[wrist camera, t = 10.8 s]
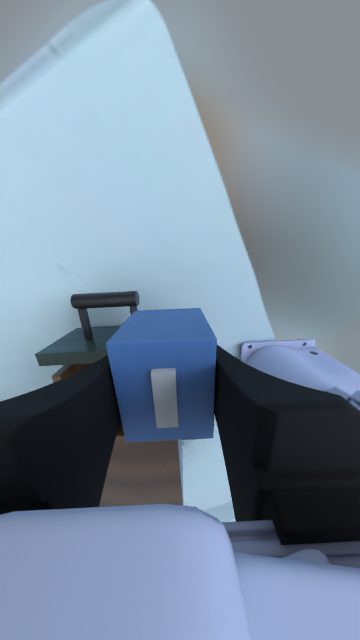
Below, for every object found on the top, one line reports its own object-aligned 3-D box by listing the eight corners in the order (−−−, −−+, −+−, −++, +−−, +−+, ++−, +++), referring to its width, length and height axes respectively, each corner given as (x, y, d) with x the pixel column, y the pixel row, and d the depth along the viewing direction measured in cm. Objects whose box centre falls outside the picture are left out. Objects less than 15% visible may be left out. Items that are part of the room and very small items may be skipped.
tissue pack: (200, 307, 11) (218, 341, 6) (200, 376, 13) (214, 445, 8) (134, 310, 11) (101, 346, 6) (143, 379, 13) (123, 449, 8)
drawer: (67, 290, 19) (15, 302, 13) (166, 285, 19) (160, 295, 13) (97, 408, 24) (71, 454, 18) (175, 404, 24) (173, 449, 18)
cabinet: (91, 384, 24) (51, 439, 16) (177, 380, 24) (177, 433, 16) (108, 449, 28) (83, 517, 20) (182, 446, 28) (183, 513, 20)
